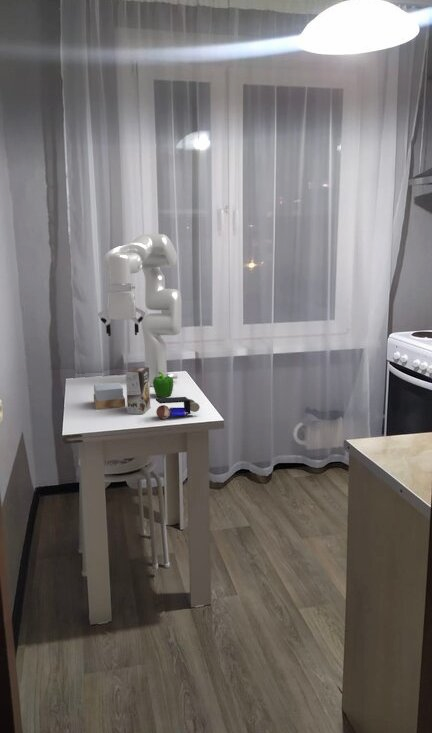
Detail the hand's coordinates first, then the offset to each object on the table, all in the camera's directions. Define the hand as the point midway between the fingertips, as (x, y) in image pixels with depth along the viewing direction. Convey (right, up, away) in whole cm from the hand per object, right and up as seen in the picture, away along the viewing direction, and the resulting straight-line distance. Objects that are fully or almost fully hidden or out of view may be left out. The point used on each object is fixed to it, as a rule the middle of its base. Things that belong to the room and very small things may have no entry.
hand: (122, 335), depth 214 cm
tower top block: (-8, -23, +13) cm, 28 cm away
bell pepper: (+13, -24, +26) cm, 37 cm away
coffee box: (+5, -29, +5) cm, 30 cm away
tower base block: (-8, -27, +14) cm, 31 cm away
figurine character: (+20, -30, -3) cm, 36 cm away
